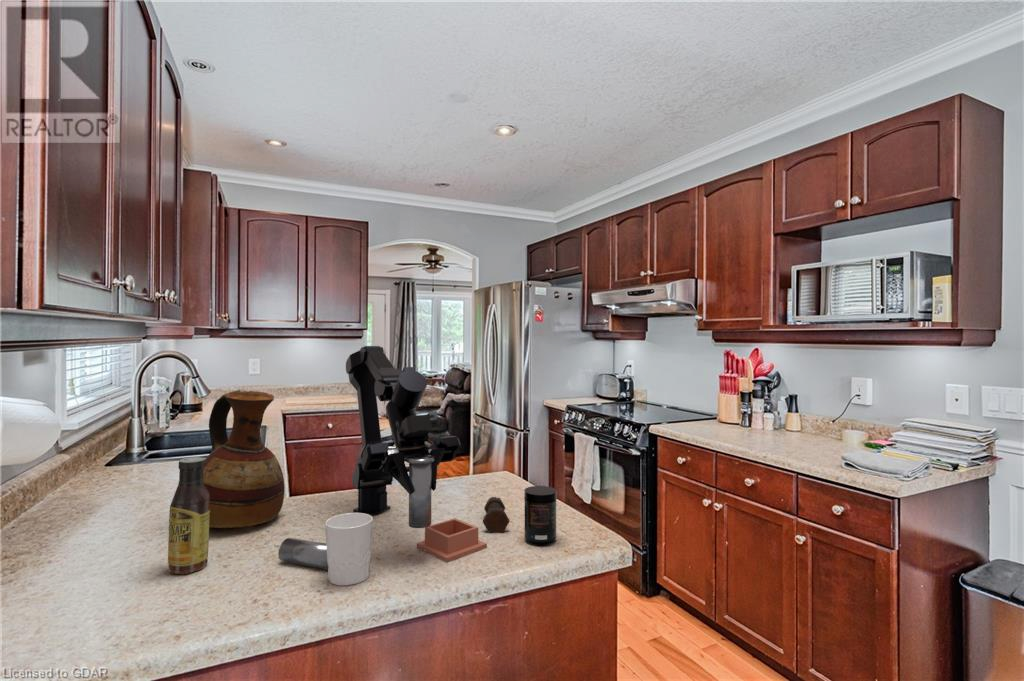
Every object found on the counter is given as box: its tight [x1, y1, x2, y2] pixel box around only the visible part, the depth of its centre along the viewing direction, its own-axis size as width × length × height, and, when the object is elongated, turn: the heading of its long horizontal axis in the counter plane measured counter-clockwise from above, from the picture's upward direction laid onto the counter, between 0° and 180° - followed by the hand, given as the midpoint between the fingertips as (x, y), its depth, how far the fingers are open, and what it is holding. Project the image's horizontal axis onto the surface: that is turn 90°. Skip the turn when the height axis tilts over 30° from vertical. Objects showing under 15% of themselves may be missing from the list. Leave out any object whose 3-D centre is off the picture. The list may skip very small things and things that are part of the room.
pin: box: [277, 537, 328, 570], centre depth 95 cm, size 12×4×4 cm, turn 71°
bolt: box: [482, 496, 510, 534], centre depth 119 cm, size 6×5×15 cm
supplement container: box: [523, 485, 558, 547], centre depth 107 cm, size 7×7×10 cm
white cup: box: [325, 512, 374, 586], centre depth 90 cm, size 8×8×10 cm
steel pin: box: [405, 455, 434, 529], centre depth 97 cm, size 5×5×13 cm
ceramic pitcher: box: [203, 390, 285, 529], centre depth 117 cm, size 20×20×30 cm
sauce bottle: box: [167, 456, 210, 575], centre depth 93 cm, size 6×6×20 cm
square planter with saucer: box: [415, 517, 488, 563], centre depth 103 cm, size 10×10×4 cm
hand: (422, 491), depth 96 cm, fingers closed on steel pin, 4 cm apart
